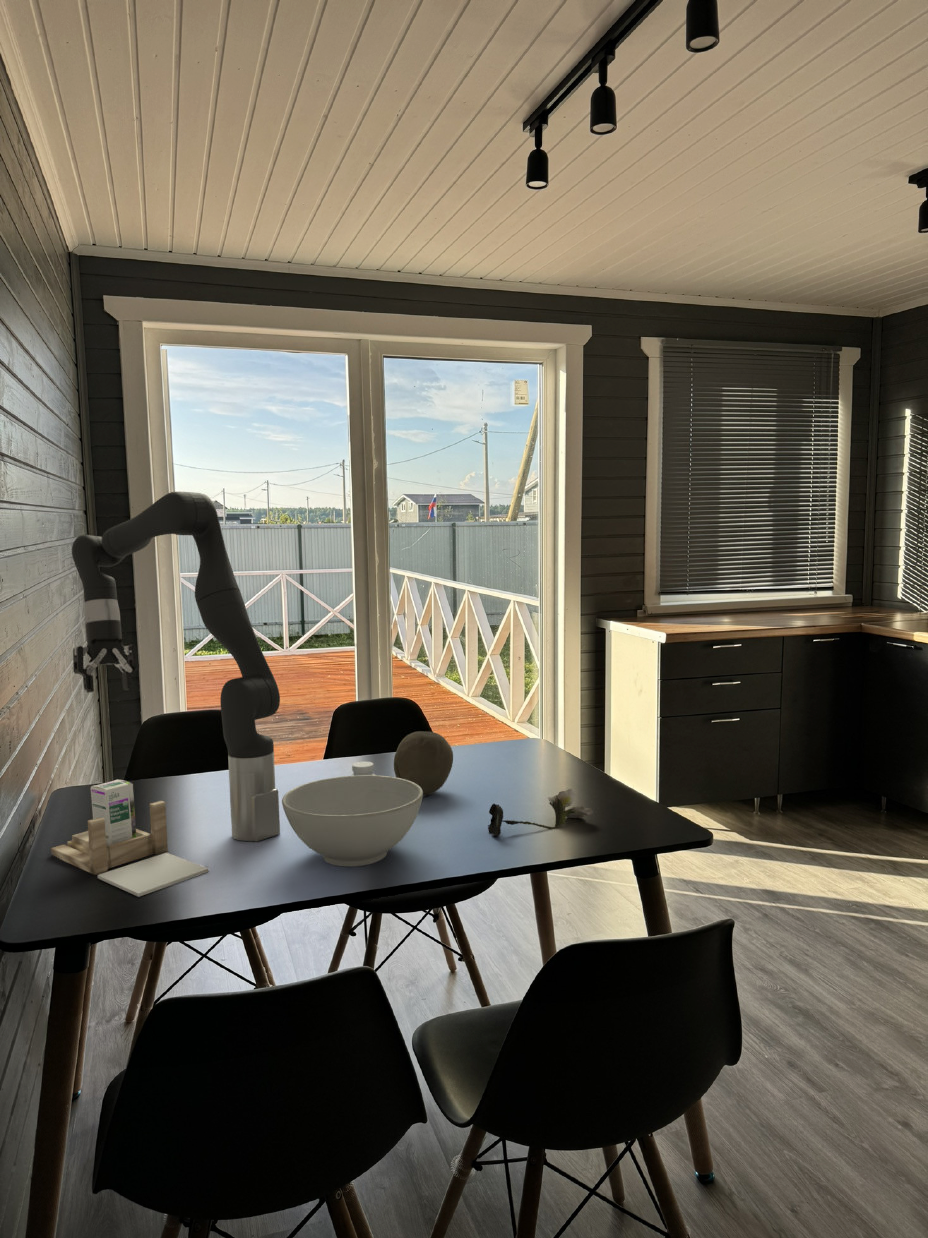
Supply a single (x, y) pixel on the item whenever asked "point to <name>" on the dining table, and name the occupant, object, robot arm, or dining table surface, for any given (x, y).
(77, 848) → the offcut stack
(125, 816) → the syrup box
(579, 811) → the artificial flower
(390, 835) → the decorative bowl
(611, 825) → the dining table surface
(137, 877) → the grey mat
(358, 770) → the pill bottle
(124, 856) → the birch rack
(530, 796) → the dining table surface
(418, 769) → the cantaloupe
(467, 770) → the dining table surface
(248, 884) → the dining table surface
